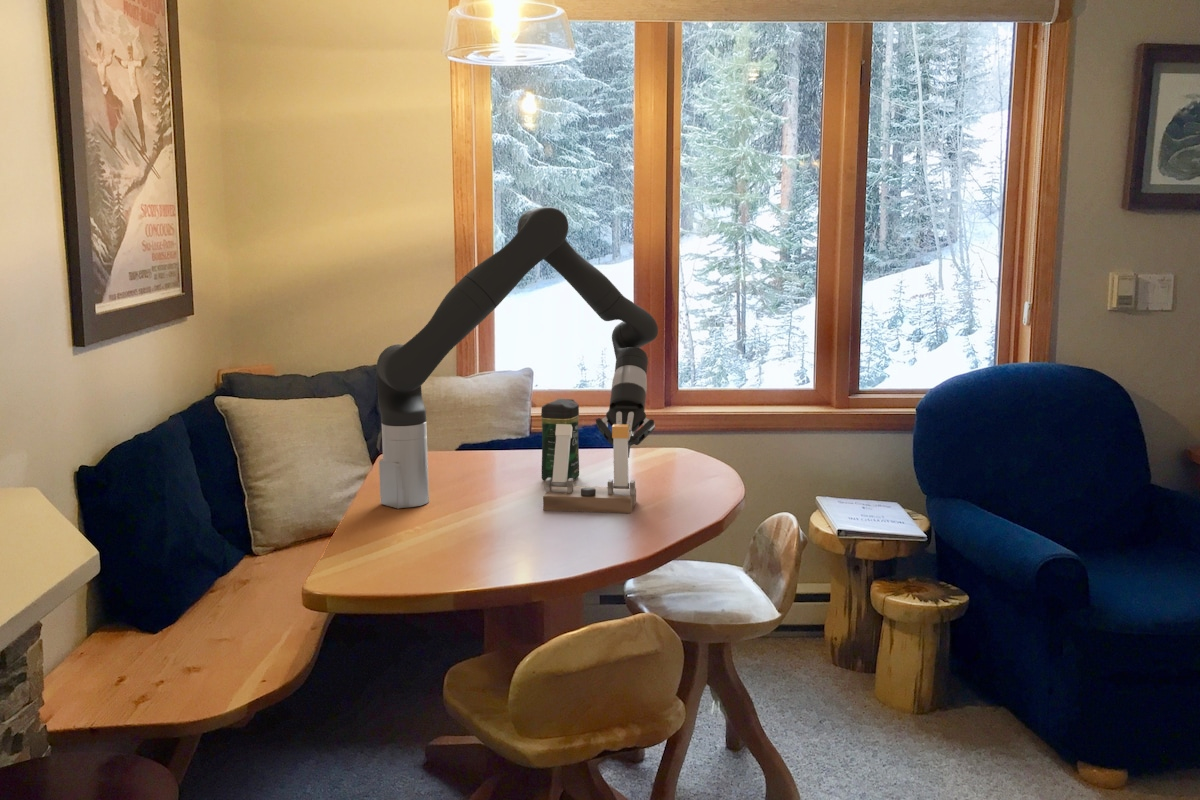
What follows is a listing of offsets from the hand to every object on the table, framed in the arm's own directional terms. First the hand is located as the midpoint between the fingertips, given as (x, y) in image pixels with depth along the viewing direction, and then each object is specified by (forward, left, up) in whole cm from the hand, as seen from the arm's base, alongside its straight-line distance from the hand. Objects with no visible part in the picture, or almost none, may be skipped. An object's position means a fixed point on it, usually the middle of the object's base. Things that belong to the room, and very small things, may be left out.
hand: (621, 459), depth 216 cm
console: (-4, +5, -10) cm, 12 cm away
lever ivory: (-8, +10, -5) cm, 14 cm away
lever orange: (-1, -1, -5) cm, 5 cm away
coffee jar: (+8, +26, -10) cm, 29 cm away
